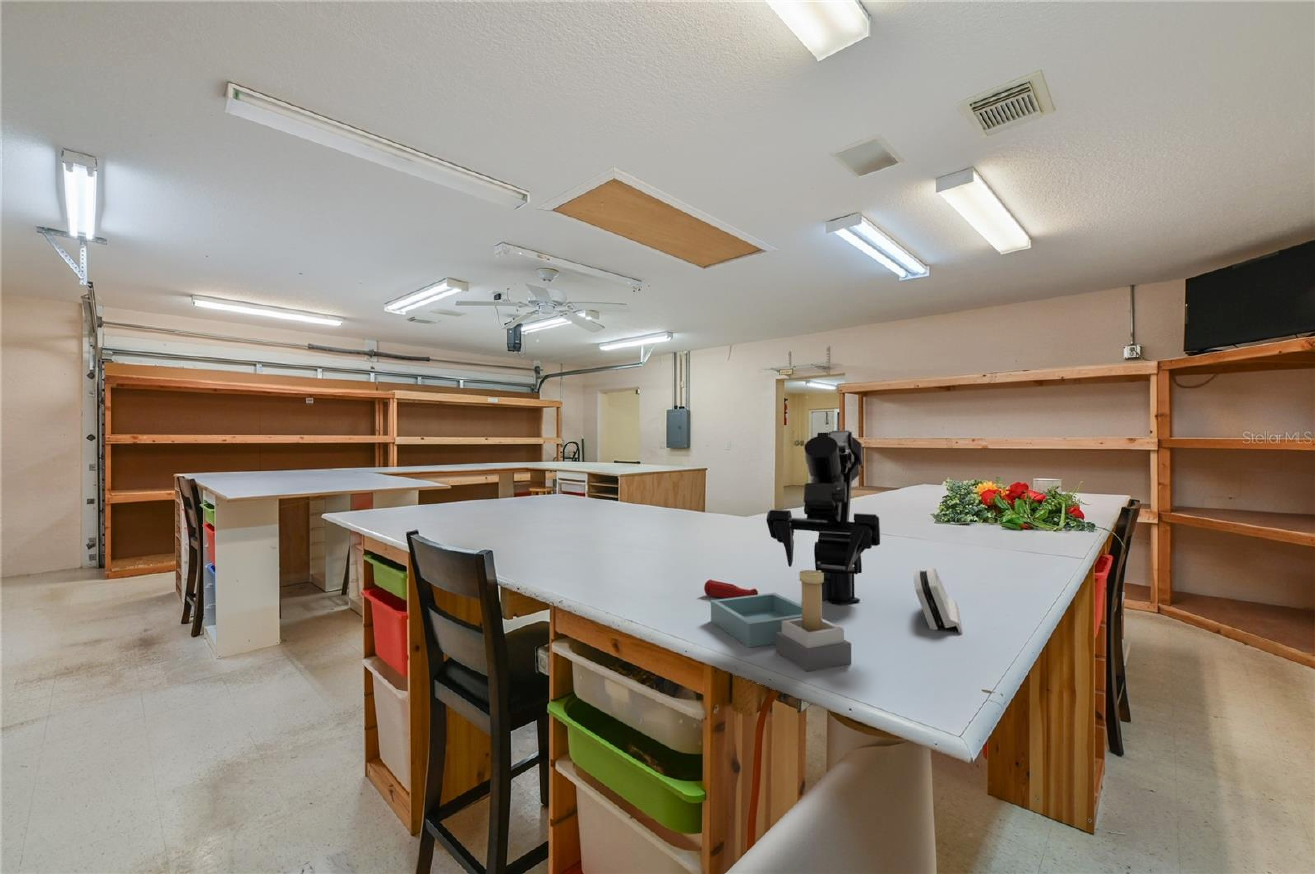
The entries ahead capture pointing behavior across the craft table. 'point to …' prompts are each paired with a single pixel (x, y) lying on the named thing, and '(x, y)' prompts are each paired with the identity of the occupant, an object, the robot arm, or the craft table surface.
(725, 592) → the red tapered rod
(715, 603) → the parts tray
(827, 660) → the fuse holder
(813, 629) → the cylinder
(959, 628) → the whiteboard eraser
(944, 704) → the craft table surface
